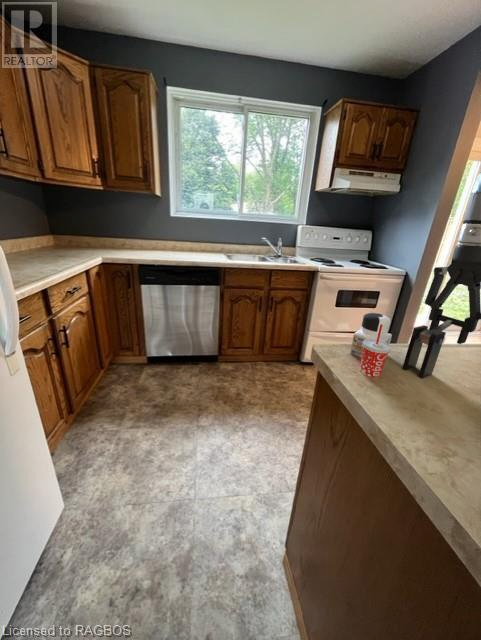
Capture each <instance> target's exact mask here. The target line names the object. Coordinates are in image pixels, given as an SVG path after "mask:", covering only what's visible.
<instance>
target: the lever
mask: <svg viewBox="0 0 481 640" xmlns="http://www.w3.org/2000/svg"><path fill="white" fill-rule="evenodd" d="M437 320H439V321H440V322H443V323H441V324H439V326H438V327H436V328H435V329H433V330H429V328H427V329H426V330H425V331H423V332H421V333H420V337H419V342H421V343H423V344H424V345H427V346H428V344H429V341H430V337H431V334H433V333H437V332H440V331H443V332H444V331H445V330H446V329H448V328H449V327H451V326H455V327H460V328H462V326H463V323H464V320H462V319H457V318H454V317H451V316H447V315H444V314H442V315H439V316H438V317H437Z"/></svg>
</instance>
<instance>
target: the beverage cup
mask: <svg viewBox="0 0 481 640" xmlns="http://www.w3.org/2000/svg"><path fill="white" fill-rule="evenodd" d="M382 326H383V325H382V324H380V328H379V333H378V337H377V340H374V339H366V340H364V341H363V344H362V345H363V351H362V357H361V358H360V363H359V364H360V365H359V372H360V373H361V374H362V375H364V376H366V377H368V378H369V377H370V378H379V377H381V375H382V372H383V369H384V367H385V364H386V361H387V358H388V356H389V355H388V354H389V353H390V352H391V350H392V345H391V344H390V345H389V344H387V343H385V342H383V341H379V338H380V334H381V330H382Z"/></svg>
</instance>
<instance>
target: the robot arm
mask: <svg viewBox="0 0 481 640" xmlns="http://www.w3.org/2000/svg"><path fill="white" fill-rule="evenodd" d="M456 241H457V242H458V243H459V244H456V245H455V247H454V249H453V253H452V255H451V261H450V263H449V264H448V265H447V266H437V267H434V268H433V278H432V281H431V284H430V287H429V290H428V291H427V295H426V297H425V300H424V304H425V305H426V306H429V307H430V312H429V315H428V321H430V324H429V327H428V329H429V330H433V329H435V328H436V327H438V326H439V325H440V323H441V321H439V320H437V317H438V316H439V315H443V312H444V309H443V308H442V307H443V305H444V303H445V302H446V301H447V299H448V298H449V297H450V295H451V294H452V293H453V292H454V290H455V289H456V287H458V286H459V285H463V286H465V287H467V291H468V301H469V302H468V304H469V305H468V307H469V308H468V309H469V316H468V317H465V318H464V320H463V321H464V323H463V326H462V327H461V329H460V332H459V334H458V338H457V341H456V344H458V345H462V344H465V343H466V342H467V340H468V336H469V333H473V332H475V331H476V329H477V326H478V323H479V321H480V320H481V172H479V174H478V175H477V177H476V180H475V182H474V185H473V187H472V190H471V192H470V196H469V200H468V204H467V208H466V211H465V214H464V218H463V221H462V224H461V228H460V231H459V234H458V238H457V240H456ZM447 273H448V276H449V279H448V281H447V282H446V284H445V286H444V287H443V289H442V290H441V292H440V289H441V287H442V284H443V282H444V279H445V276H446V275H447ZM439 292H440V293H439Z"/></svg>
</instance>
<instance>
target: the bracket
mask: <svg viewBox="0 0 481 640" xmlns="http://www.w3.org/2000/svg"><path fill="white" fill-rule="evenodd" d="M426 329H429V326H428V325H425V324H423V325H419V326H416V327H413V330H412V332H411V337H410V340H409V343H408V347H407V351H406V353H405V357H404V360H403V364H402V368H401V370H403V371H404V372H407V371H410V370H412V369H415V368H416V367H417V364H418V361H419V357H420V354H421V350H422V348H423V344H424V343H421V342H419V337H420V333H421V332H423V331H425V330H426ZM446 334H447V332H446V331H444V330H443V331H440V332H437V333H433V334H431V337H430V341H429V344H428V345H427V347H426V351H425V353H424V356H423V358H422V359H423V360H422V363H421V366H420V369H419V372H418V375H417V378H418V379H420V380H422V379H425V378H428V377H430V376H432V375H433V372H434V369H435V367H436V363H437V361H438V357H439V354H440V351H441V348H442V346H443V342H444V340H445V337H446Z"/></svg>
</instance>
